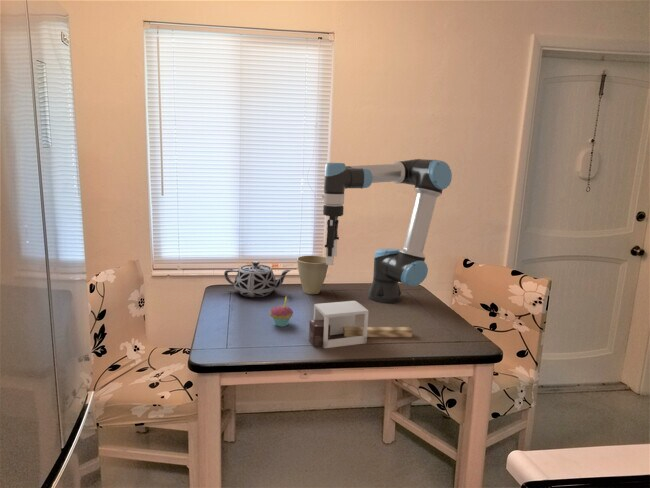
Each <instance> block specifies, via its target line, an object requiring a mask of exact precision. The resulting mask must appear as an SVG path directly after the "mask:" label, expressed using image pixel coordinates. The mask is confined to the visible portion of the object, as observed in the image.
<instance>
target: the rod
mask: <svg viewBox="0 0 650 488" xmlns="http://www.w3.org/2000/svg"><path fill="white" fill-rule="evenodd" d="M356 336H363V326H355V327H344V331H343V338H347V337H356ZM412 337H413V329H412V328H411V327H410V326H368V328H367V338H412Z"/></svg>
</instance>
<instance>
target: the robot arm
mask: <svg viewBox="0 0 650 488" xmlns="http://www.w3.org/2000/svg"><path fill="white" fill-rule="evenodd" d="M323 176H324V178H323V179H324V180H323V181H324V182H323V195H322V199H323V204H324V205H322V206H323V211H322V212H323V213H322V214H323V215H324V216H326V217H329V219H327V222H326V224H327V227H326V229H327V232H326V244H324V248H326V252H325V253H326V254H325V257H326V265H328V266H334V261H335V258H334V257H337V254H338V253H337V252H338V241H339V240H340V237H339V235H338V228H339V219H338V218H339V217H342V216H344V209H345V208H344V203H345V190H346V189H367V188H370V187H371V185H372V184H375V183H377V184H378V183H391V182H393V183H395V184H405V185H412V186H414V191H415V192H416V195H415V200H414V203H413V207H412V211H411V215H410V220H409V223H408V227H407V231H406V235H405V239H404V243H403V247H402V248H401V249H400V248H380V249H377V250H376V251H375V252H374V257H373V259H374V260H373V273H372V274H373V276H372V277H373V279H372V282H371V284H370V287H369V290H368V295H367V297H368V299H370V300H371V301H374V302H378V303H386V304H393V303H398V302H401V300H402V291H401V288H400V284H399V283H401V284H402V285H404V286H408V287H417V286H419V285H420V284H421V283H423V281H425V279H426V278H427V276H428V271H429V267H428V265H427V263H426V262H425V261H426V255H425V254H424V251H425V245H426V242H427V237H428V233H429V229H430V227H431V223H432V219H433V215H434V210H435V207H436V203H437V198H439V197H440V196H442V194H443V190H445V189H447V188H448V187H449V186H450V185H451V182H452V179H453V178H452V177H453V173H452V169H451V167H450V165H449V164H448V162H446V161H444V160H439V159H423V158H416V159H409V160H402V161H400V160H399V161H395V162H393V163H390V164H389V163H388V164H387V163H385V164H384V163H383V164H366V165H365V164H364V165H346V164H345V163H344V162H327V163H326V164H325V165H324V173H323Z"/></svg>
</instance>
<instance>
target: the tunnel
mask: <svg viewBox="0 0 650 488" xmlns="http://www.w3.org/2000/svg"><path fill="white" fill-rule="evenodd" d="M357 315H363V323H362V324H363V325H362V327H363V336H356V337H341V338H340V337H339V338H334V339H333V338H330V340H328V324H329V325H330V336H335V335H342V334H343V331H344V327H356V316H357ZM313 320H324V335H323V346H322V348H323V349H331V348H337V347H345V346H355V345H361V344H363V345H364V344H367V343H368V342H367V341H368V339H367V338H368V337H367V328H368V327H369V325H368V323H369V310H368V309H367V308H366V307H365V306H363V305H362V304H361V303H360V302H358V301H356V300H346V301H334V302H324V303H314V304H313ZM343 335H344V334H343Z"/></svg>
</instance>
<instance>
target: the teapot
mask: <svg viewBox="0 0 650 488" xmlns="http://www.w3.org/2000/svg"><path fill="white" fill-rule="evenodd" d="M291 271H292V269H284V270H283V271H282V273H281V275H280V277H279V278H276V276H275V274H274V272H273V269H272V267H270V266H268V265H264V264H260V261H258V260H254V261H252V262H251V264H247V265H246V264H245V265H242V266H241V267H240V268H239V269H234V268H233V269H232V268H229V269H225V271H224V273H223V274H224V276H223V277H224V278H225V280H226V281H227V282H228V283H229V284H231V286H234V289H235V291H237V292H238V293H239V294H240V295H242V296H244V297H249V298H263V297H266V296H270V294H271V293H273V291H275V289H277V288H279V287H280V286H281V285H282V284H283V282H284V280H285V278H286V275H287V274H288V273H289V272H291ZM228 273H236V276H235V278H234V281H233V280H231V278H230V277H229V275H228Z"/></svg>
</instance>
